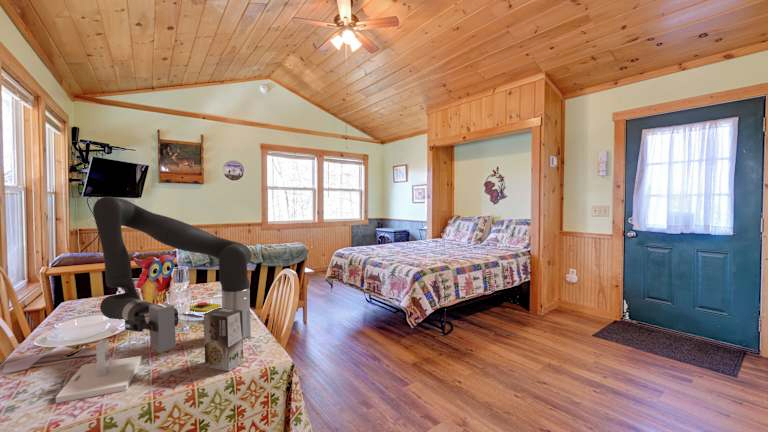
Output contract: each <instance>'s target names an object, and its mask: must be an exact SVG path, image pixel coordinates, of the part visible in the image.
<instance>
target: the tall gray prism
mask: <svg viewBox="0 0 768 432" xmlns="http://www.w3.org/2000/svg"><path fill="white" fill-rule="evenodd" d="M174 308H175V305H173V304H170V303H169V302H161V303H157V304H155V305H152V306H149V319H150V320H151V321H153V322H155V323H158V325H159V331H157V332H154V331H151V330H149V336H150V337H149V338H150V348H151V349H152V350H154V351H156V352H157V353H162V352H166V351H169V350H173V349H174V348H176V347H177V346H176V345H177V344H176V341H177V339H176V326H175V315H174Z"/></svg>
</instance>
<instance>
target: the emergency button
mask: <svg viewBox="0 0 768 432" xmlns="http://www.w3.org/2000/svg"><path fill="white" fill-rule="evenodd" d="M189 306H190V311H193V312H194V311H195V312H207V311H209V310H211V309H215V308H218V307H221V308H222V304H218V303H213V302H212V303H211V302H207V301H201V302H198V303H195V304H192V305H189Z"/></svg>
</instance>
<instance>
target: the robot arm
mask: <svg viewBox="0 0 768 432" xmlns="http://www.w3.org/2000/svg"><path fill="white" fill-rule="evenodd" d="M92 212H93V217H94V221H95V226H96V228H97V232H98V237H99V240H100V244H101V245H100V246H101V250H102V253H103V254H102V255H103V263H104V273H105V277H104V278H105V284H106V285H105V286H107V287H108V288H111V289H112V288H117V289H118V288H120V289H123V291H124V293H118V294H113V295H108V296H106V297H104V299H102V301H100V306H99V307H100V312H101V314H102V315H103V316H104V317H105V318H107V319H112V320H124V330H125V331H131V332H140V333H141V332H143V331H144V330H146V331H150V330H151V331H154V332H157V331H159V325H158V323H155V322H153V321H151V320H150V319H149V306H152V305H156V304H154V303H152V302H150V301H147V300H144V299H141V298H140V296H139V292H138V291H137V289H136V287H135V284H134V280H133V273H132V263H131V258H130V255H129V252H128V250H127V248H126V245H125V243H124V238H123V236H122V235H123V234H122V226H123V227H125V228H126V227H127V228H129V229H134V230H136V231H137V230H138V231H139V232H142V233H145V234H146V235H148V236H149V237H151V238H153V239H154V240H156V241H157V242H159V243H161V244H163V245H166V246H169V247H171V248H173V249H177V250H179V251H183V252H184V251H185V252H189V253H194V254H203V255H206V256H207V255H208V256H211V257H213V258H216V259H218V275H219V283H220V285H221V308H227V309H235V310H242V318H243V339H245V338H250V337H251V335H252V333H251V332H252V331H251V329H252V328H251V306H250V305H251V304H250V303H251V301H250V300H251V299H250V297H251V296H250V295H251V294H250V293H251V291H250V287H251V286H250V285H251V283H250V279H249V278H248V263H250V261H251V259H252V252H251V250H250V248H249V247H248V246H247V245H245V244H244V243H241V242H236V241H233V240H230V239H226V238H224V237H223V238H222V237H220V236H217V235H214V234H212V233H210V232H207V231H205V230H203V229H200V228H198V227H197V226H194V225H191V224H189V223H187V222H184V221H181V220H178V219H175V218H173V217H170V216H169V217H168V216H166V215H163V214H162V215H161V214H158V213H154V212H151V211H149V210H147V209H145V208H142V207H141V206H138V205H136V204H135V203H133V202H131V201H129V200H127V199H125V198H121V197H120V198H119V197H115V196H102V197H101V198H99V199H97V200H96V201H95V203H94V205H93V208H92ZM174 315H175V327H177V326H178V325H179V320H180V319H179V311H178V309H177V308H175V307H174Z"/></svg>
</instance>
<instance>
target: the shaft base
mask: <svg viewBox="0 0 768 432" xmlns="http://www.w3.org/2000/svg"><path fill="white" fill-rule="evenodd" d="M141 362H142V355H137V356H131V357H125V358H118V359H111V360H110V359H109V372H108V373H107V375H106V376H104V377H98V378H97V362H93V363H92V362H90V363H85V364H82V365H81V366H80V368H79V369H78V370H77V371H76V373H75V374H74V375H73V376H72V377H71V378H70V379H69V381H68V382H67V383H66V384H65V385H64V387H63V388H62V389H61V390H60V391H59V392H58V394H57V395H56V396H55V404H59V403H65V402H70V401H71V402H72V401H75V400H81V399H86V398H92V397H98V396H103V395H107V394H108V395H109V394H114V393H118V392H124V391H125V392H126V391H127V390H128V388H129V386H130V384H131V382H132V380H133V378H134V376H135V374H136V372H137V370H138V368H139V366H140V364H141Z"/></svg>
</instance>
